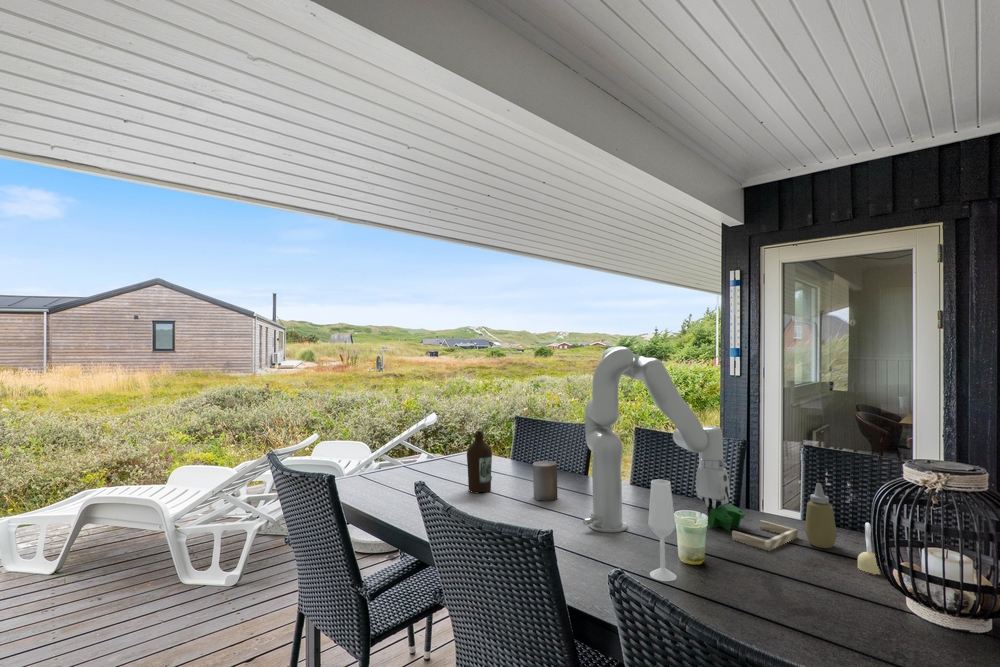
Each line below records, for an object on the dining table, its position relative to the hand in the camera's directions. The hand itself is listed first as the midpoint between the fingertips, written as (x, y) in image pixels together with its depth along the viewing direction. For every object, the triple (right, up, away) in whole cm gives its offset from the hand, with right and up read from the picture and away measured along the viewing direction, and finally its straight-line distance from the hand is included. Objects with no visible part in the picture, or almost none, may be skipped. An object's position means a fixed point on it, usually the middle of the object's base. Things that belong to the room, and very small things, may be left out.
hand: (713, 518), depth 170 cm
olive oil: (-80, -4, +44) cm, 91 cm away
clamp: (+3, -1, -4) cm, 5 cm away
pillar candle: (-53, -4, +32) cm, 62 cm away
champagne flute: (-29, -1, -39) cm, 49 cm away
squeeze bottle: (+23, -1, -20) cm, 31 cm away
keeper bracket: (+9, -1, -14) cm, 17 cm away
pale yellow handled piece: (+26, 0, -37) cm, 45 cm away
